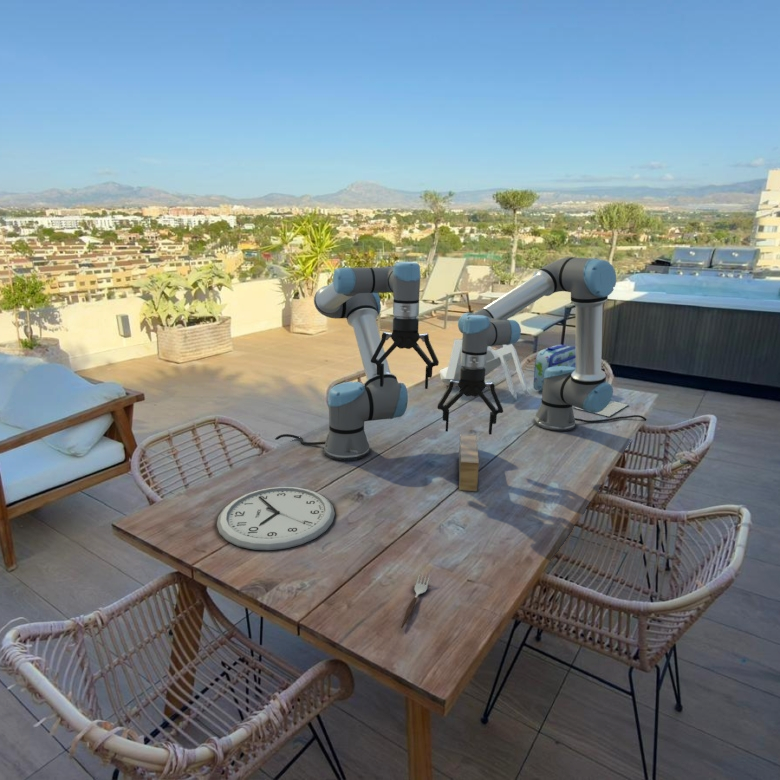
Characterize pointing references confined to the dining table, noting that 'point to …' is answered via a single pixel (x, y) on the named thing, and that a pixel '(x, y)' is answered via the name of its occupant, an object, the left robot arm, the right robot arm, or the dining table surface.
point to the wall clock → (275, 518)
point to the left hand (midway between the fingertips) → (404, 386)
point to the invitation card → (610, 408)
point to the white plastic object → (492, 362)
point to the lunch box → (552, 361)
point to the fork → (419, 589)
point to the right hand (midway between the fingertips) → (468, 431)
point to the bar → (468, 463)
